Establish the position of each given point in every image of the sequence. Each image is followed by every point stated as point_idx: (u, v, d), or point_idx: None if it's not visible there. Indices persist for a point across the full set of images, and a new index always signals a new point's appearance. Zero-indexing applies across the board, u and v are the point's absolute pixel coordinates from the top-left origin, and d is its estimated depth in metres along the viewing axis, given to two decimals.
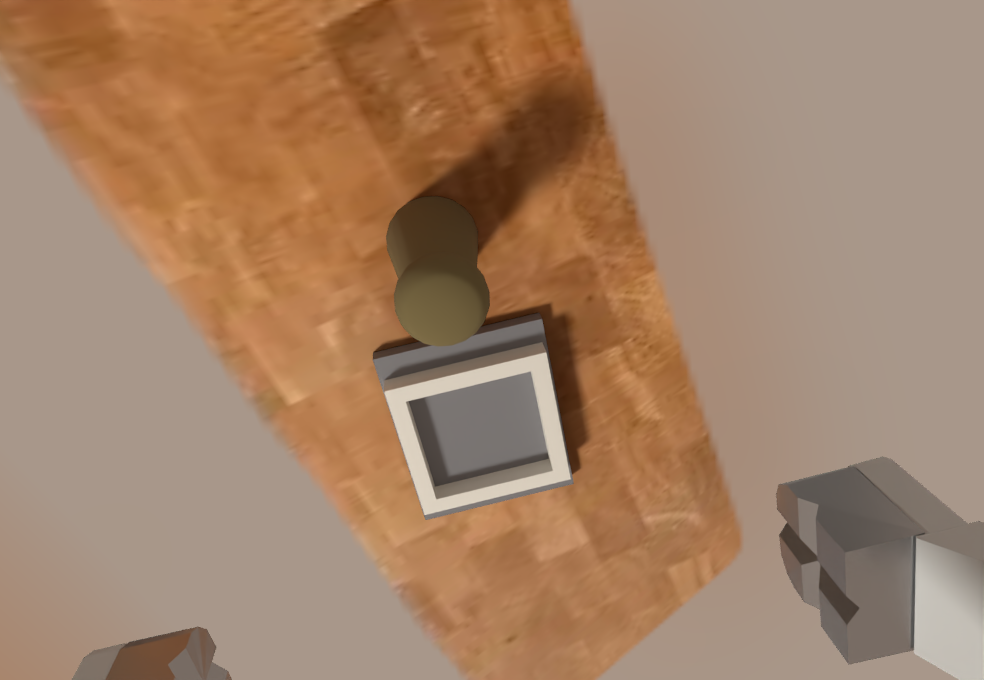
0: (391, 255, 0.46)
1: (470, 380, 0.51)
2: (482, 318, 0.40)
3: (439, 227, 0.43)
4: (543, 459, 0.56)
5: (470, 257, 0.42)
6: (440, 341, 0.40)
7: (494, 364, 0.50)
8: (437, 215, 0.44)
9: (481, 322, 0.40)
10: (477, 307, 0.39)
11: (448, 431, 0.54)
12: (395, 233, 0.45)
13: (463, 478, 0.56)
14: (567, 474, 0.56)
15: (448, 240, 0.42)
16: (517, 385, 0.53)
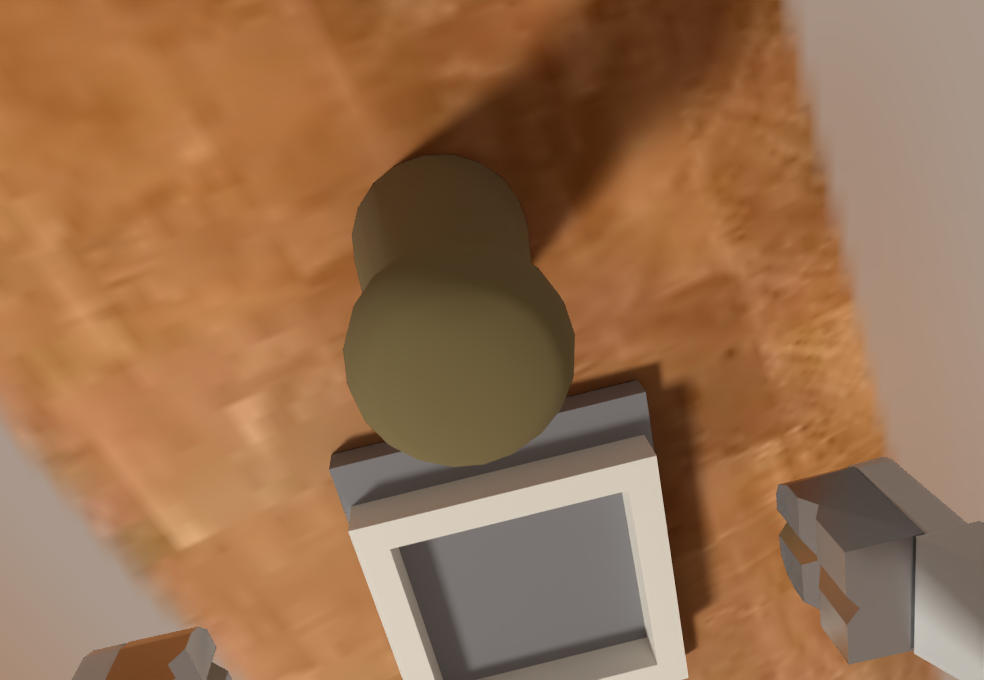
0: (358, 267, 0.23)
1: (511, 509, 0.27)
2: (560, 399, 0.16)
3: (454, 200, 0.20)
4: (636, 639, 0.32)
5: None
6: (457, 456, 0.16)
7: (558, 478, 0.27)
8: (451, 182, 0.22)
9: (557, 409, 0.16)
10: (548, 372, 0.15)
11: (470, 593, 0.30)
12: (365, 222, 0.22)
13: (495, 673, 0.32)
14: (683, 669, 0.31)
15: (474, 223, 0.19)
16: (595, 512, 0.29)
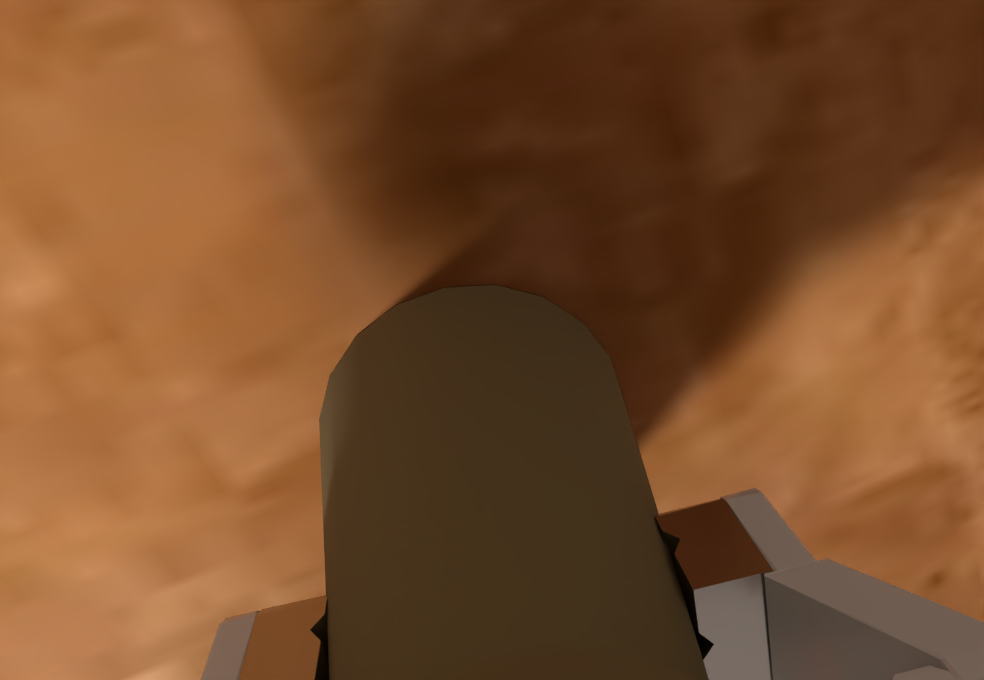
0: None
1: None
2: None
3: (517, 426, 0.10)
4: None
5: (676, 587, 0.09)
6: None
7: None
8: (503, 365, 0.11)
9: None
10: None
11: None
12: (337, 429, 0.12)
13: None
14: None
15: (570, 509, 0.08)
16: None
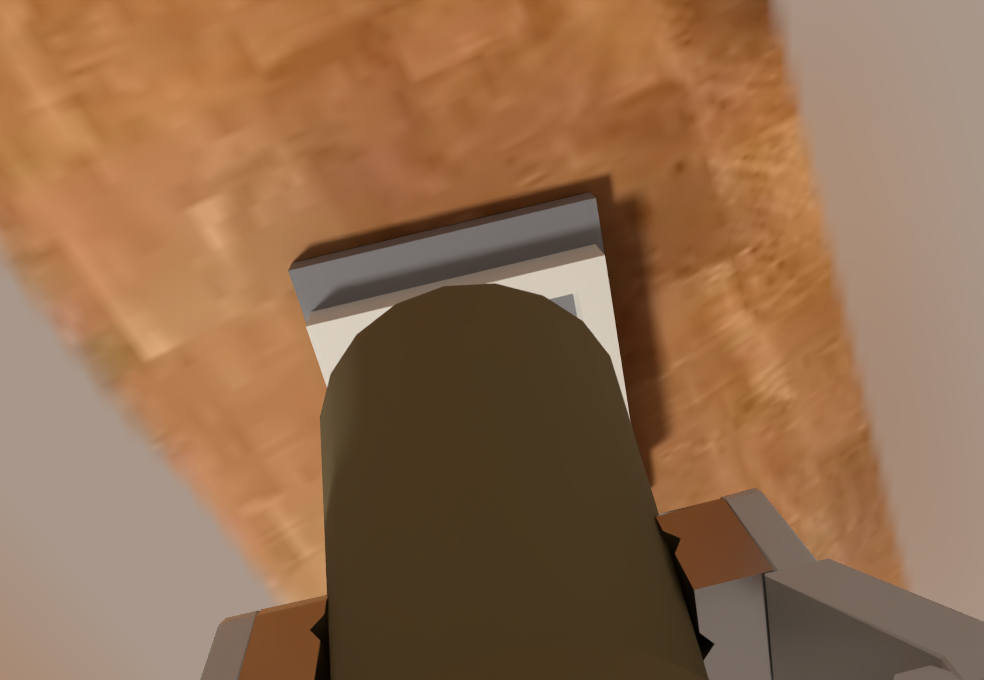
0: None
1: None
2: None
3: (516, 423, 0.10)
4: None
5: (675, 583, 0.09)
6: None
7: (509, 277, 0.27)
8: (503, 363, 0.11)
9: None
10: None
11: None
12: (338, 427, 0.12)
13: None
14: None
15: (570, 505, 0.08)
16: None
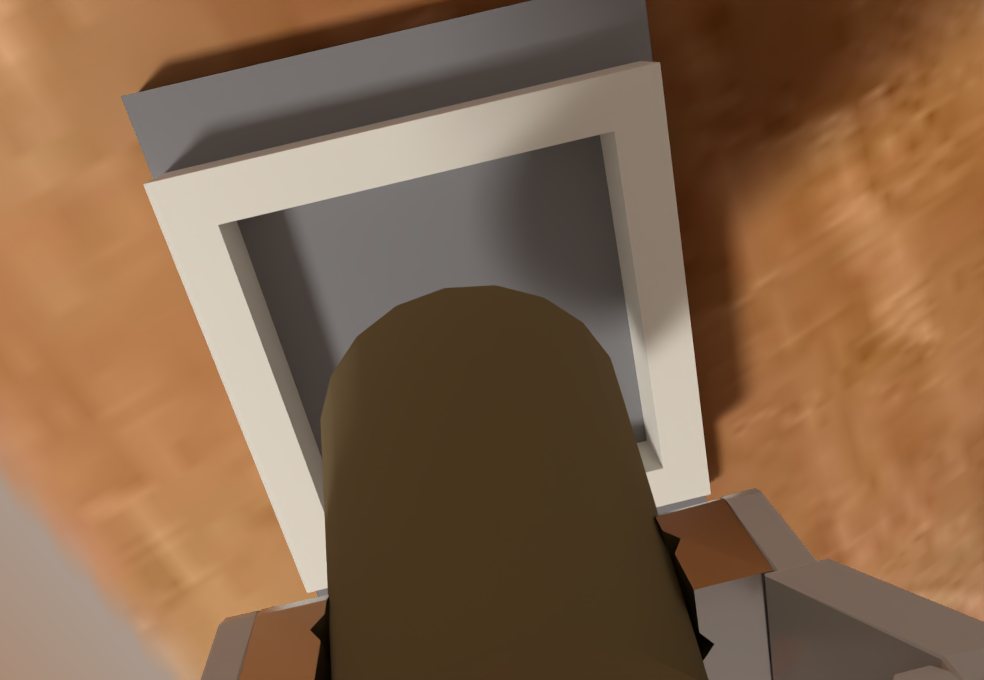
0: None
1: (419, 156, 0.16)
2: None
3: (516, 427, 0.10)
4: None
5: (675, 587, 0.09)
6: None
7: (495, 101, 0.16)
8: (504, 365, 0.11)
9: None
10: None
11: None
12: (339, 430, 0.12)
13: None
14: (703, 479, 0.20)
15: (571, 509, 0.08)
16: (564, 208, 0.18)
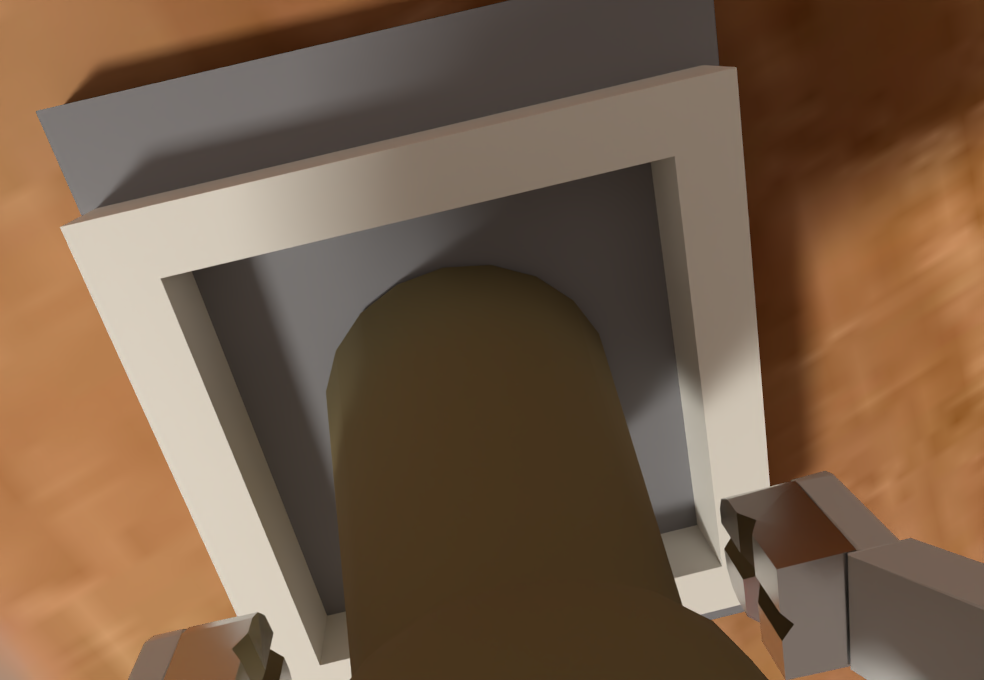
0: None
1: (421, 190, 0.12)
2: None
3: (512, 392, 0.11)
4: (678, 529, 0.17)
5: (656, 533, 0.10)
6: None
7: (522, 118, 0.12)
8: (500, 338, 0.12)
9: None
10: None
11: None
12: (345, 398, 0.13)
13: None
14: None
15: (562, 463, 0.09)
16: (604, 250, 0.15)
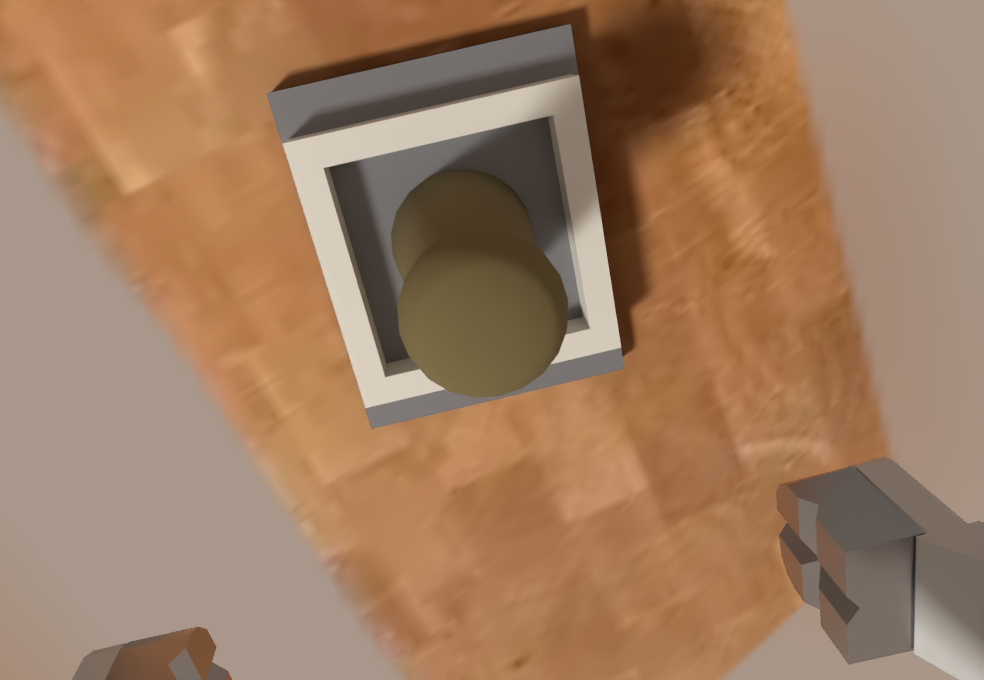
0: (397, 257, 0.29)
1: (440, 129, 0.28)
2: (556, 345, 0.22)
3: (476, 203, 0.26)
4: (572, 318, 0.33)
5: None
6: (480, 386, 0.22)
7: (484, 97, 0.28)
8: (473, 190, 0.27)
9: (554, 353, 0.22)
10: (548, 324, 0.21)
11: None
12: (404, 222, 0.28)
13: None
14: (616, 337, 0.32)
15: (492, 220, 0.25)
16: (527, 163, 0.30)
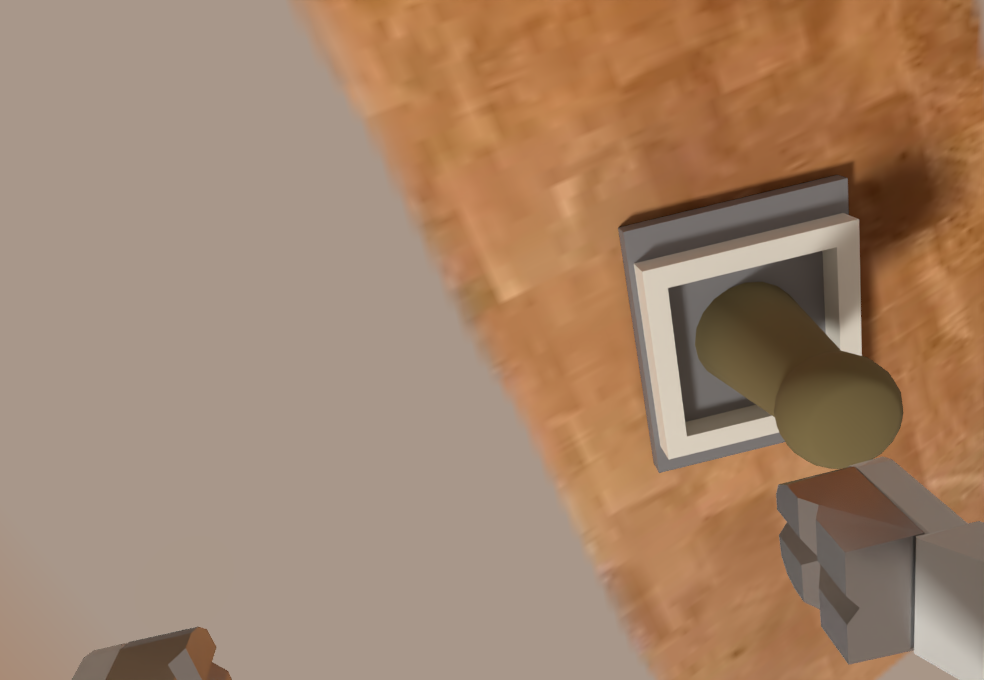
0: (716, 351, 0.39)
1: (754, 258, 0.38)
2: (895, 434, 0.32)
3: (796, 319, 0.36)
4: None
5: None
6: (844, 462, 0.32)
7: (789, 235, 0.37)
8: (782, 305, 0.37)
9: (893, 439, 0.32)
10: (896, 421, 0.31)
11: None
12: (724, 326, 0.38)
13: (715, 412, 0.42)
14: None
15: (819, 336, 0.35)
16: (802, 276, 0.40)
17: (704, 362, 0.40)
